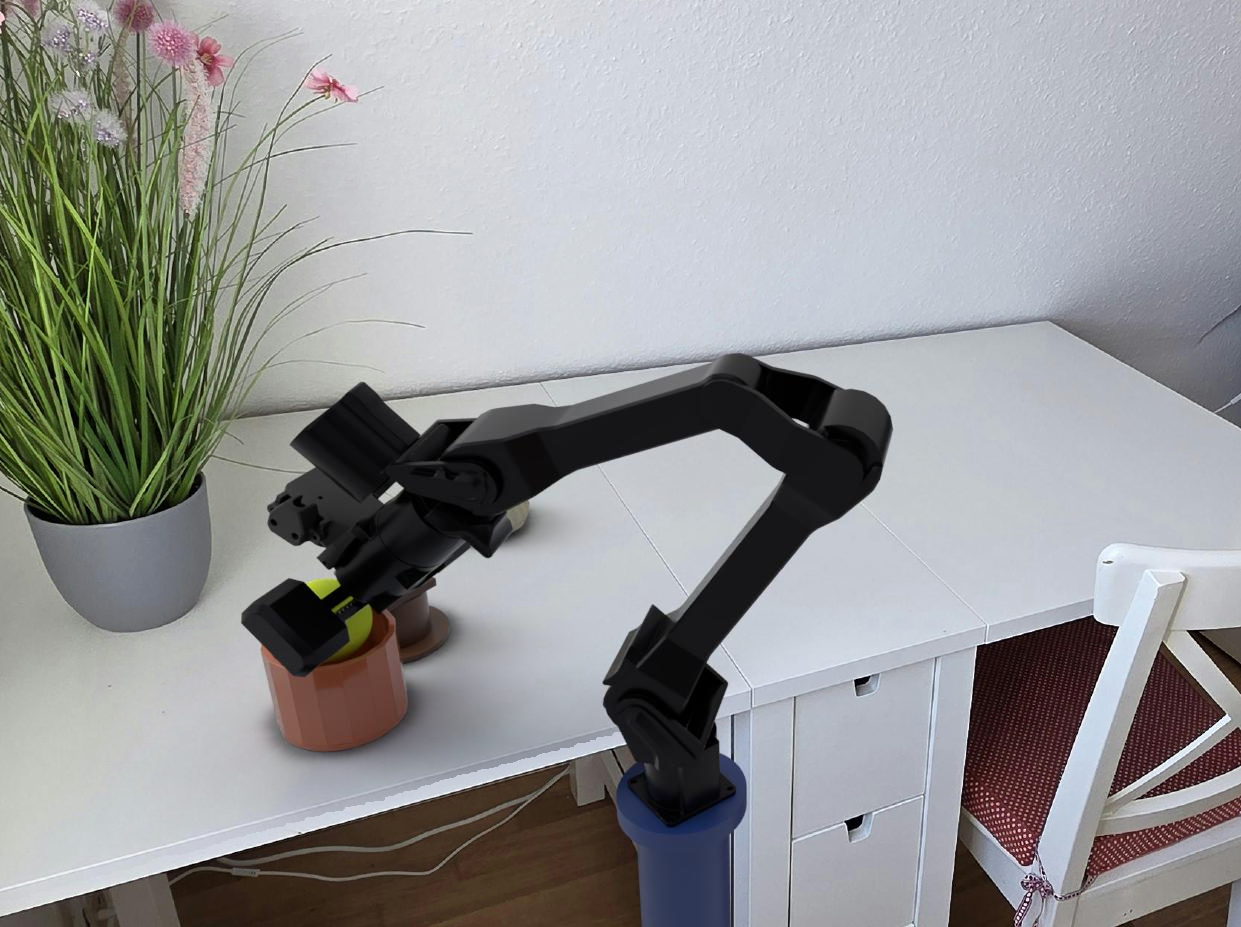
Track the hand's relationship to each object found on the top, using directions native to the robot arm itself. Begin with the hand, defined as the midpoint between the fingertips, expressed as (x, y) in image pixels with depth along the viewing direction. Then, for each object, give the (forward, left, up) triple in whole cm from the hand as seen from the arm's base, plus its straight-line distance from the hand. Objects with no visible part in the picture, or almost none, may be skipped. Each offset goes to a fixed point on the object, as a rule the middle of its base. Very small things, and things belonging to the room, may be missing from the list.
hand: (313, 624), depth 97 cm
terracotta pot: (-1, -1, -9) cm, 9 cm away
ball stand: (+7, -8, -9) cm, 14 cm away
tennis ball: (-1, -1, +1) cm, 2 cm away
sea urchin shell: (+21, -23, -9) cm, 32 cm away
